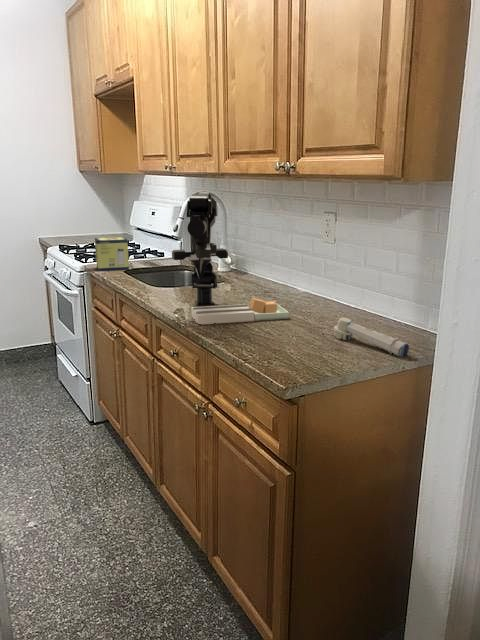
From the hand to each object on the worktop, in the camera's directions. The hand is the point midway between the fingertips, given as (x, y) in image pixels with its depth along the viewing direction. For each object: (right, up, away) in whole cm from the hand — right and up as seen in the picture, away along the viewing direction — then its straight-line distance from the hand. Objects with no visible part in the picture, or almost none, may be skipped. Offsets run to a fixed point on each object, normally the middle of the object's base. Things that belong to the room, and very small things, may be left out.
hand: (200, 278), depth 192 cm
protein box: (-51, +12, +90) cm, 104 cm away
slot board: (+8, -14, -5) cm, 17 cm away
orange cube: (+22, -10, -2) cm, 24 cm away
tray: (+23, -13, -1) cm, 26 cm away
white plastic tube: (+51, -22, -33) cm, 65 cm away
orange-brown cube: (+19, -11, -2) cm, 22 cm away
